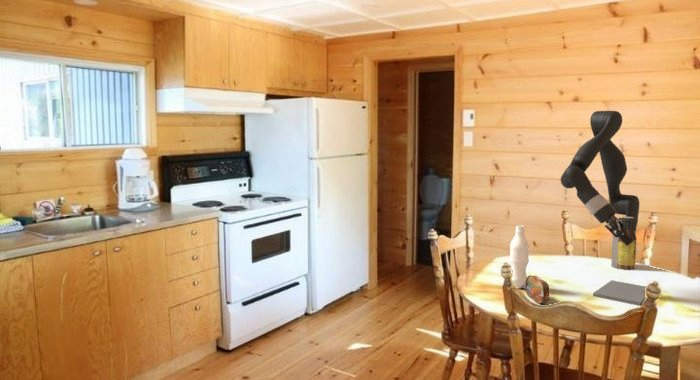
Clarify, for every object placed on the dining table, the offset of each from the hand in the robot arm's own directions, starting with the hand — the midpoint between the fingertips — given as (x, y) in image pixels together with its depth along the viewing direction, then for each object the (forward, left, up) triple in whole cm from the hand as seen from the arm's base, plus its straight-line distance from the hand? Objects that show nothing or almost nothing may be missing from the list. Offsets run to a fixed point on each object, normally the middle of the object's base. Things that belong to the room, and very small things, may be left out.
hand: (632, 242), depth 193 cm
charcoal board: (0, -2, -20) cm, 20 cm away
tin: (+29, -24, -21) cm, 43 cm away
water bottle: (+19, -36, -20) cm, 45 cm away
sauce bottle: (0, -2, -11) cm, 11 cm away
